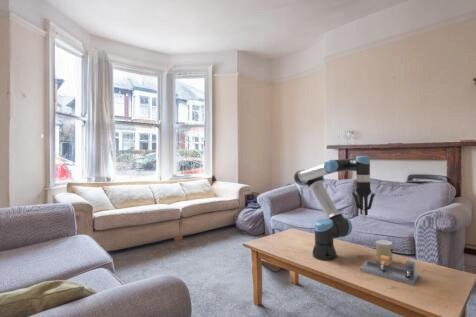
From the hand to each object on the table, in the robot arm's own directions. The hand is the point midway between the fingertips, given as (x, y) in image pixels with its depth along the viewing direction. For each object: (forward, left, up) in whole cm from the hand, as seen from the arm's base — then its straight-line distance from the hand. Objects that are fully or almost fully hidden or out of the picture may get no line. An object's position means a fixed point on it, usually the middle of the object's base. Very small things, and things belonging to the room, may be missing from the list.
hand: (364, 220), depth 160 cm
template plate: (+14, -6, -26) cm, 30 cm away
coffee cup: (+8, +9, -27) cm, 29 cm away
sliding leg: (+12, -6, -24) cm, 27 cm away
